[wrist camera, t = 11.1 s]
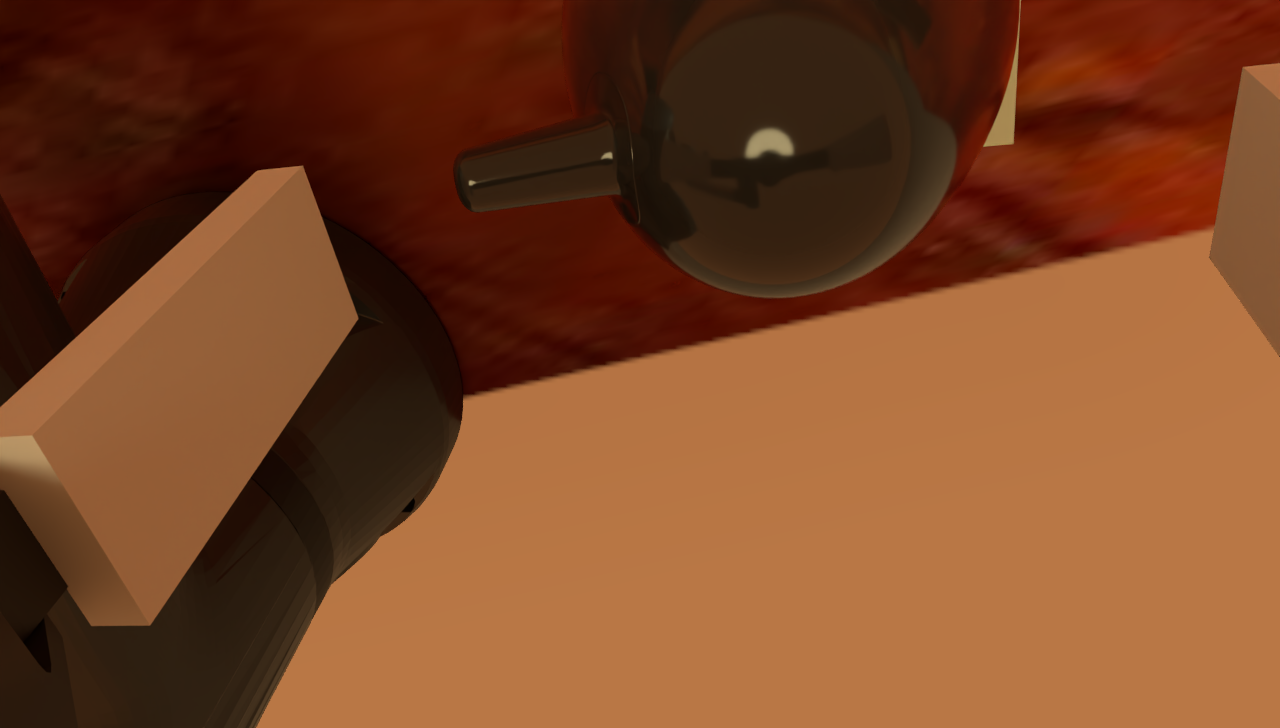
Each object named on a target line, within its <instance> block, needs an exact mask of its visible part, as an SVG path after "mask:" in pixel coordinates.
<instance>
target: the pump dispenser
mask: <svg viewBox="0 0 1280 728" xmlns="http://www.w3.org/2000/svg"><path fill="white" fill-rule="evenodd" d="M1019 12H1020V0H563V11H562V54H563V66H564V74H565V81H566V87H567V93H568V98H569V102H570V106H571V111H572V114H573V119H569V120H566V121H562V122H559V123H555V124H552V125H548V126H545V127H541V128H538V129H534V130H531V131H527V132H524V133H520V134H517V135H513V136H509V137H506V138H502V139H499V140H495V141H492V142H488V143H485V144H481V145H478V146H474V147H471V148H467V149H464V150H462V151H461V152H460V153H459V154H458V155H457V157H456V159H455V161H454V166H453V174H454V180H455V185H456V189H457V193H458V196H459V198H460V200H461V202H462V204H463V205H464V206H465V207H466V208H467V209H468V210H470V211H472V212H476V213H479V212H487V211H494V210H502V209H510V208H517V207H525V206H532V205H539V204H547V203H554V202H562V201H569V200H577V199H585V198H592V197H600V196H608V197H609V198H610V200H611V201H612V203H613V204H614V206H615V208H616V209H617V211H618V212H619V214H620V215H621V216H622V218H623V219H624V220H625V222H626V223H627V225H628V226H629V227H630V228H631V230H632V231H633V232H634V233H635V234H636V235H637V237H638V238H639V239H640V240H641V241H642V242H643V243H644V244H645V245H646V246H647V247H648V248H649V249H650V250H651V251H652V252H654V253H655V254H656V255H657V256H658V257H660V258H661V259H662V260H663V261H665V262H666V263H667V264H669V265H670V266H672V267H673V268H675V269H676V270H678V271H680V272H681V273H683V274H685V275H686V276H688V277H690V278H692V279H694V280H696V281H698V282H700V283H703V284H705V285H707V286H710V287H713V288H716V289H718V290H722V291H725V292H729V293H732V294H737V295H742V296H748V297H756V298H793V297H801V296H807V295H812V294H817V293H821V292H825V291H828V290H831V289H834V288H837V287H840V286H843V285H845V284H848V283H850V282H852V281H855V280H857V279H859V278H861V277H863V276H865V275H867V274H868V273H870V272H872V271H874V270H875V269H877V268H879V267H880V266H882V265H883V264H885V263H886V262H888V261H889V260H891V259H892V258H893V257H895V256H896V255H897V254H899V253H900V252H901V251H902V250H903V249H905V248H906V247H907V246H908V245H909V244H910V243H912V242H913V241H914V240H915V239H916V238H917V237H918V236H919V235H920V234H921V233H922V232H923V231H924V230H925V229H926V228H927V227H928V225H929V224H930V223H931V222H932V221H933V220H934V219H935V218H936V216H937V215H938V214H939V213H940V212H941V210H942V209H943V208H944V207H945V205H946V204H947V203H948V202H949V200H950V199H951V198H952V196H953V195H954V193H955V192H956V191H957V189H958V188H959V186H960V185H961V183H962V182H963V180H964V179H965V177H966V176H967V174H968V172H969V171H970V169H971V168H972V166H973V164H974V162H975V161H976V159H977V157H978V155H979V154H980V152H981V150H982V148H983V146H984V144H985V142H986V140H987V138H988V136H989V134H990V132H991V129H992V127H993V125H994V123H995V120H996V118H997V115H998V113H999V110H1000V107H1001V104H1002V102H1003V99H1004V96H1005V93H1006V89H1007V86H1008V82H1009V79H1010V75H1011V70H1012V66H1013V62H1014V56H1015V51H1016V44H1017V36H1018V27H1019Z"/></svg>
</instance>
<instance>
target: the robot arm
mask: <svg viewBox="0 0 1280 728" xmlns="http://www.w3.org/2000/svg"><path fill="white" fill-rule="evenodd" d="M1209 258H1210V259H1211V261H1212V262H1213V263H1214V265H1215V266H1216V268H1217V269H1218V270H1219V272H1220V273H1221V275H1222V276H1223V277H1224V279H1225V280H1226V282H1227V283H1228V285H1229V286H1230V287H1231V289H1232V290H1233V291H1234V293H1235V295H1236V296H1237V297H1238V299H1239V300H1240V302H1241V303H1242V304H1243V306H1244V307H1245V309H1246V310H1247V311H1248V313H1249V314H1250V316H1251V317H1252V318H1253V320H1254V321H1255V323H1256V324H1257V326H1258V327H1259V328H1260V330H1261V331H1262V333H1263V334H1264V335H1265V337H1266V338H1267V340H1268V341H1269V342H1270V344H1271V345H1272V347H1273V348H1274V350H1275V351H1276V352H1277V354H1278V355H1279V357H1280V63H1277V64H1268V65H1258V66H1249V67H1243V69H1242V74H1241V80H1240V86H1239V91H1238V97H1237V103H1236V108H1235V114H1234V120H1233V126H1232V131H1231V137H1230V143H1229V148H1228V154H1227V160H1226V165H1225V171H1224V177H1223V182H1222V188H1221V194H1220V200H1219V205H1218V211H1217V217H1216V222H1215V228H1214V234H1213V240H1212V245H1211V251H1210V257H1209ZM462 411H463V392H462V382H461V377H460V372H459V368H458V364H457V360H456V357H455V354H454V352H453V349H452V346H451V344H450V342H449V339H448V337H447V335H446V333H445V331H444V329H443V327H442V325H441V324H440V322H439V320H438V318H437V317H436V315H435V314H434V312H433V310H432V309H431V308H430V306H429V305H428V303H427V302H426V301H425V299H424V298H423V297H422V295H421V294H420V293H419V292H418V290H417V289H416V288H415V287H414V286H413V284H412V283H411V282H410V281H409V280H408V279H407V278H406V277H405V276H404V275H403V274H402V273H401V272H400V271H399V270H398V269H397V268H396V267H395V266H394V265H393V264H392V263H391V262H390V261H388V260H387V259H386V258H385V257H384V256H383V255H381V254H380V253H379V252H378V251H376V250H375V249H374V248H372V247H371V246H370V245H368V244H367V243H366V242H364V241H363V240H361V239H360V238H358V237H357V236H355V235H354V234H352V233H351V232H349V231H347V230H346V229H344V228H342V227H340V226H339V225H337V224H335V223H333V222H331V221H329V220H327V219H325V218H323V217H321V214H320V211H319V209H318V206H317V203H316V200H315V198H314V195H313V192H312V189H311V187H310V184H309V181H308V178H307V176H306V173H305V170H304V167H303V166H294V167H285V168H275V169H266V170H257V171H256V172H255V173H254V174H253V175H252V176H251V177H250V178H249V179H248V180H247V181H245V182H244V183H243V184H242V185H241V186H240V187H239V188H238V189H237V190H236V191H235V192H201V193H192V194H185V195H181V196H176V197H172V198H169V199H165V200H162V201H159V202H157V203H154V204H152V205H150V206H148V207H146V208H144V209H142V210H140V211H138V212H137V213H135V214H134V215H132V216H131V217H129V218H128V219H127V220H125V221H124V222H123V223H122V224H120V225H119V226H118V227H117V228H115V229H114V230H113V231H112V232H110V233H109V234H108V235H107V236H105V237H104V238H103V239H102V240H100V241H99V242H98V243H97V244H96V245H95V246H93V247H92V248H91V249H90V250H89V251H88V252H87V253H86V254H85V255H84V256H83V257H82V259H81V260H80V261H79V262H78V263H77V265H76V266H75V267H74V269H73V270H72V272H71V273H70V275H69V276H68V278H67V280H66V282H65V284H64V286H63V288H62V291H61V293H60V296H59V299H58V302H57V300H56V298H55V296H54V294H53V293H52V291H51V289H50V287H49V285H48V283H47V281H46V279H45V278H44V276H43V274H42V272H41V270H40V268H39V266H38V264H37V262H36V261H35V259H34V257H33V255H32V253H31V251H30V249H29V247H28V245H27V244H26V242H25V240H24V238H23V236H22V234H21V232H20V230H19V229H18V227H17V225H16V223H15V221H14V219H13V217H12V215H11V213H10V212H9V210H8V208H7V206H6V204H5V202H4V200H3V198H2V197H1V195H0V728H256V726H257V724H258V723H259V721H260V718H261V717H262V714H263V713H264V711H265V709H266V707H267V705H268V703H269V701H270V699H271V697H272V695H273V693H274V692H275V690H276V688H277V686H278V684H279V682H280V680H281V678H282V676H283V675H284V672H285V671H286V669H287V667H288V665H289V663H290V661H291V659H292V657H293V656H294V654H295V652H296V650H297V648H298V646H299V644H300V642H301V640H302V638H303V636H304V635H305V633H306V631H307V629H308V627H309V625H310V623H311V620H312V619H313V617H314V615H315V613H316V611H317V610H318V608H319V606H320V604H321V602H322V600H323V598H324V597H325V594H326V593H327V590H328V589H329V587H330V585H331V584H332V583H333V582H334V581H336V580H337V579H338V578H339V577H340V576H342V575H343V574H344V573H345V572H346V571H347V570H348V569H350V568H351V567H352V566H353V565H354V564H355V563H356V562H357V561H358V560H359V559H360V558H362V557H363V556H364V555H365V554H366V553H367V552H368V551H369V550H370V548H371V547H372V546H373V545H374V544H375V543H376V542H377V540H378V539H379V537H380V536H382V535H384V534H386V533H388V532H389V531H391V530H392V529H394V528H395V527H397V526H398V525H400V524H401V523H402V522H403V521H405V520H406V519H407V518H408V517H409V516H410V515H411V514H412V513H413V512H415V510H417V509H418V508H419V506H420V505H421V504H422V503H423V502H424V500H425V499H426V498H427V496H428V495H429V494H430V492H431V491H432V489H433V488H434V486H435V484H436V483H437V481H438V479H439V477H440V474H441V472H442V471H443V468H444V466H445V464H446V462H447V460H448V458H449V456H450V453H451V451H452V449H453V447H454V445H455V442H456V440H457V437H458V433H459V430H460V425H461V420H462Z"/></svg>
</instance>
